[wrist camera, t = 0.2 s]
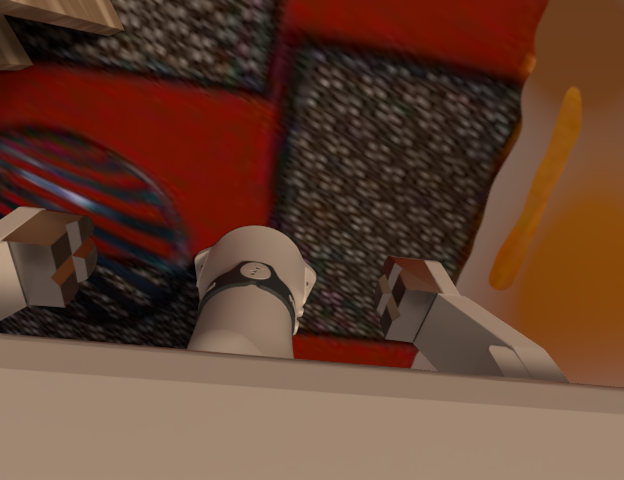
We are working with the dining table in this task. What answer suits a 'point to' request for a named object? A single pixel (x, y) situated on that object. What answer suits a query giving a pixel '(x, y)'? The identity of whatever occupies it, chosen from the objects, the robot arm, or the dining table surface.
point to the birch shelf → (53, 10)
